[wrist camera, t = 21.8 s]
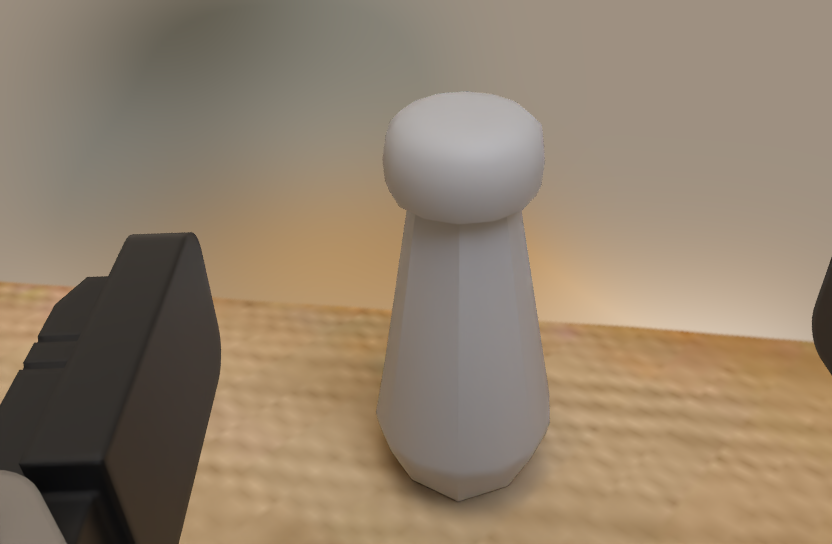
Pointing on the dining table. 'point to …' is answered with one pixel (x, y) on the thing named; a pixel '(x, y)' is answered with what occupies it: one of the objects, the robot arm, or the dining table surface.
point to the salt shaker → (464, 295)
